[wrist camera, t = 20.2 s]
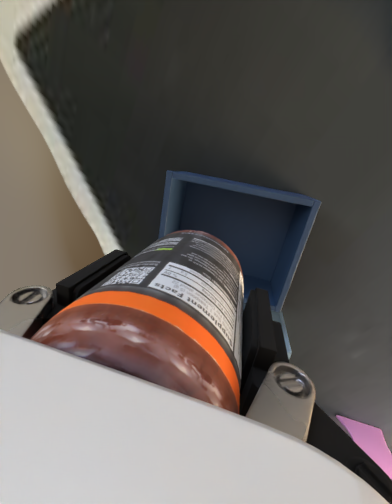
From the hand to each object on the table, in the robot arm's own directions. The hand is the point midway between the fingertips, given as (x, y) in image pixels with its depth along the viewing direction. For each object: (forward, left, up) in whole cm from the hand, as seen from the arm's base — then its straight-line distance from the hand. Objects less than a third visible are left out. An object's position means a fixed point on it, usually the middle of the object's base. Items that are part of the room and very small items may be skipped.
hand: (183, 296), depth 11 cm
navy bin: (-1, +1, -19) cm, 19 cm away
